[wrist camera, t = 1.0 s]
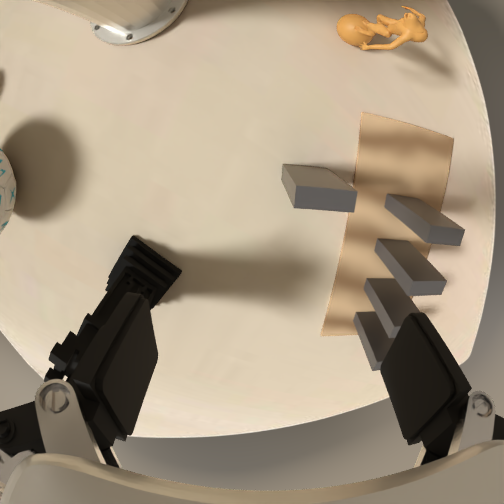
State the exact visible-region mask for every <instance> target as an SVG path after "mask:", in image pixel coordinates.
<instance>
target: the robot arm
mask: <svg viewBox="0 0 504 504" xmlns="http://www.w3.org/2000/svg"><path fill="white" fill-rule="evenodd" d="M33 1H36V2H39V3H43V4H46V5H49V6H52V7H54V8H57V9H60V10H63V11H66V12H68V13H71V14H73V15H76V16H78V17H81V18H83V19H85V20H88V21H90V25H91V29H92V31H93V33H94V34H95V36H96V37H97V38H98V39H100V40H101V41H103V42H106V43H108V44H112V45H117V46H126V45H132V44H136V43H139V42H142V41H145V40H147V39H149V38H151V37H154V36H155V35H157V34H158V33H160V32H162V31H163V30H164V29H166V28H167V27H168V26H169V25H171V24H172V23H173V22H174V21H175V19H176V18H177V17H178V16H179V15H180V14H181V12H182V11H183V9H184V8H185V6H186V4H187V2H188V0H33ZM174 11H175V12H174ZM172 12H174V13H172ZM132 37H133V38H132ZM131 38H132V39H131ZM157 360H158V350H157V345H156V340H155V335H154V330H153V324H152V318H151V312H150V306H149V301H148V300H147V299H144V296H143V295H142V294H137V293H130V292H127V293H126V294H125V295H124V297H123V298H122V300H121V301H120V302H119V304H118V305H117V307H116V308H115V310H114V312H113V313H112V315H111V316H110V318H109V319H108V321H107V322H106V324H105V325H103V326H102V327H101V328H100V329H99V330H98V332H97V334H96V335H95V337H94V338H93V340H92V342H91V343H90V345H89V346H88V348H87V350H86V351H85V353H84V355H83V356H82V358H81V360H80V361H79V363H78V365H77V366H76V368H75V370H74V372H73V373H72V375H71V377H70V379H69V381H68V382H66V381H64V380H60V379H53V380H49V381H47V382H45V383H43V384H42V385H41V386H40V387H39V389H38V390H37V392H36V395H35V401H33V402H30V403H27V404H24V405H21V406H18V407H15V408H11V409H8V410H5V411H2V412H0V504H504V418H502V417H500V416H498V415H496V414H495V405H494V402H493V400H492V399H491V397H490V396H489V395H488V394H486V393H485V392H482V391H475V392H473V393H472V394H471V395H470V396H468V392H469V391H470V390H471V389H472V388H471V386H470V384H469V382H468V381H467V379H466V377H465V375H464V374H463V372H462V370H461V369H460V367H459V365H458V363H457V362H456V360H455V358H454V357H453V355H452V354H451V352H450V350H449V349H448V347H447V346H446V344H445V342H444V341H443V339H442V338H441V336H440V335H439V333H438V332H437V330H436V329H435V327H434V326H433V324H432V323H431V321H430V320H429V318H428V317H427V316H426V314H425V313H423V312H420V313H410V314H409V315H408V317H406V318H405V319H404V321H403V323H402V325H401V327H400V329H399V331H398V333H397V335H396V337H395V339H394V341H393V343H392V345H391V347H390V349H389V351H388V353H387V355H386V356H385V358H384V360H383V362H382V364H381V367H380V371H381V375H382V377H383V380H384V383H385V385H386V388H387V391H388V393H389V396H390V399H391V402H392V405H393V408H394V410H395V413H396V416H397V419H398V422H399V425H400V428H401V431H402V434H403V437H404V439H406V440H407V442H408V445H412V444H416V443H419V442H420V441H422V442H423V446H422V449H421V452H420V454H419V456H418V458H417V461H416V463H415V465H414V468H412V469H409V470H406V471H403V472H400V473H396V474H392V475H388V476H384V477H380V478H376V479H371V480H367V481H362V482H357V483H352V484H345V485H339V486H332V487H324V488H315V489H302V490H282V491H255V490H234V489H221V488H212V487H204V486H196V485H190V484H184V483H179V482H173V481H168V480H163V479H158V478H154V477H149V476H146V475H142V474H138V473H134V472H131V471H127V470H124V469H123V468H122V466H121V464H120V462H119V460H118V459H117V456H116V454H115V452H114V450H113V448H112V446H113V444H114V441H115V438H116V439H119V440H122V441H126V438H127V435H132V433H133V431H134V427H135V424H136V421H137V418H138V415H139V412H140V409H141V406H142V403H143V400H144V397H145V394H146V391H147V389H148V386H149V383H150V380H151V377H152V374H153V372H154V369H155V366H156V363H157Z"/></svg>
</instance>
